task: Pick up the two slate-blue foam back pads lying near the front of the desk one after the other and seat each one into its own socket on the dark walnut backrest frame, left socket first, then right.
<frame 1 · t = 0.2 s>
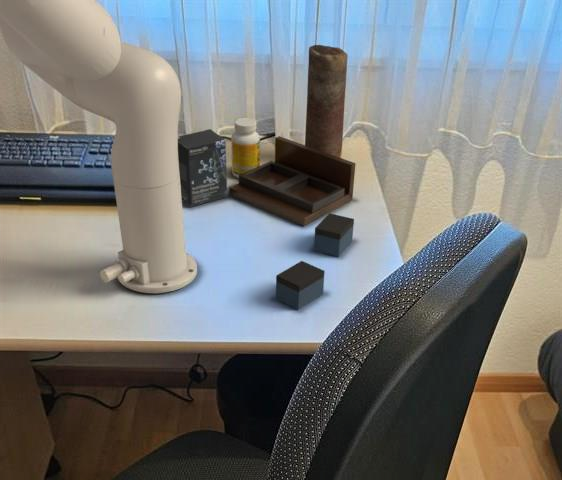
back frame: (290, 197, 138), on the table
pad 2: (333, 246, 126), on the table
supplement bottle: (246, 175, 145), on the table
candle: (322, 162, 150), on the table
box: (202, 198, 138), on the table
pad 1: (299, 296, 115), on the table
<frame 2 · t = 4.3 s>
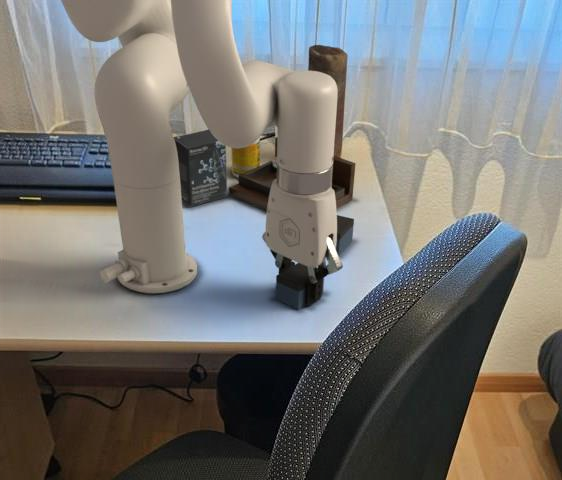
hand: (299, 294, 115), 0 cm above the table, tool pointing down, fingers closed on pad 1, 4 cm apart
pad 1: (299, 296, 115), on the table, touching gripper
everything else where it was.
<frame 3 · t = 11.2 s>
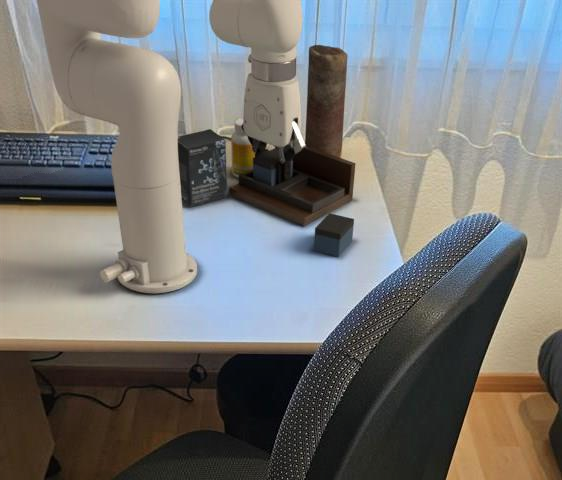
hand: (272, 176, 139), 3 cm above the table, tool pointing down, fingers closed on pad 1, 4 cm apart
pad 1: (272, 178, 139), point 2 cm above the table, touching gripper
everything else where it was.
when the fingers open (3 cm above the table, at t = 14.8 s): pad 1 stays where it is, resting on back frame.
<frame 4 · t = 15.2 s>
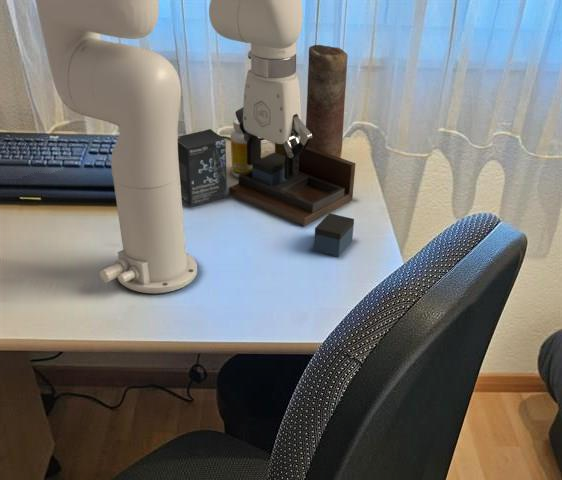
hand: (272, 169, 138), 4 cm above the table, tool pointing down, fingers open, 8 cm apart
supplement bottle: (246, 174, 145), on the table, touching gripper
pad 1: (272, 182, 139), point 1 cm above the table, touching back frame
everything else where it was.
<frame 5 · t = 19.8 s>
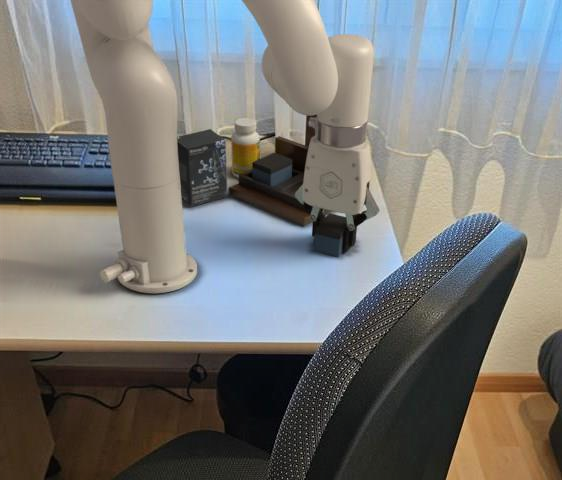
hand: (333, 244, 126), 0 cm above the table, tool pointing down, fingers closed on pad 2, 4 cm apart
pad 2: (333, 246, 126), on the table, touching gripper
supplement bottle: (246, 175, 145), on the table
everything else where it was.
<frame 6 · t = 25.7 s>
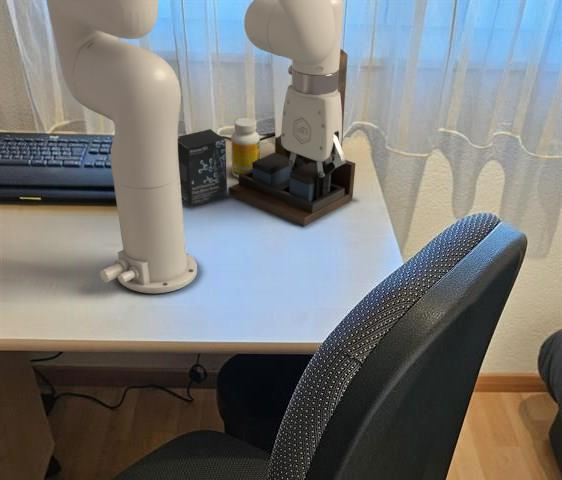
hand: (309, 191, 134), 3 cm above the table, tool pointing down, fingers closed on pad 2, 4 cm apart
pad 2: (309, 193, 135), point 2 cm above the table, touching gripper
everything else where it was.
when the fingers open (3 cm above the table, at t = 29.3 s): pad 2 drops 1 cm, resting on back frame.
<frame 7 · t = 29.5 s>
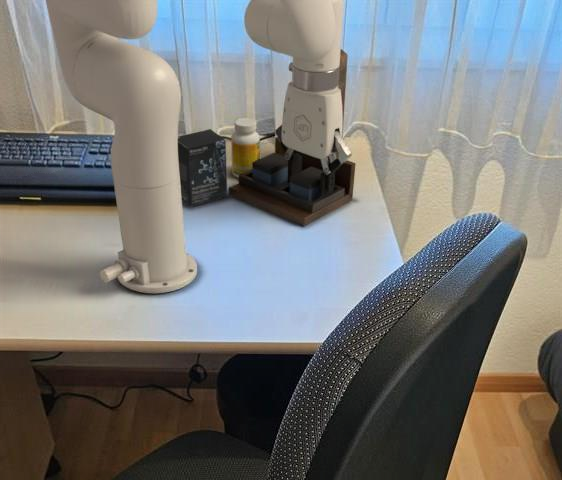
hand: (310, 186, 134), 3 cm above the table, tool pointing down, fingers open, 6 cm apart
pad 2: (309, 197, 135), point 1 cm above the table, touching back frame
everything else where it was.
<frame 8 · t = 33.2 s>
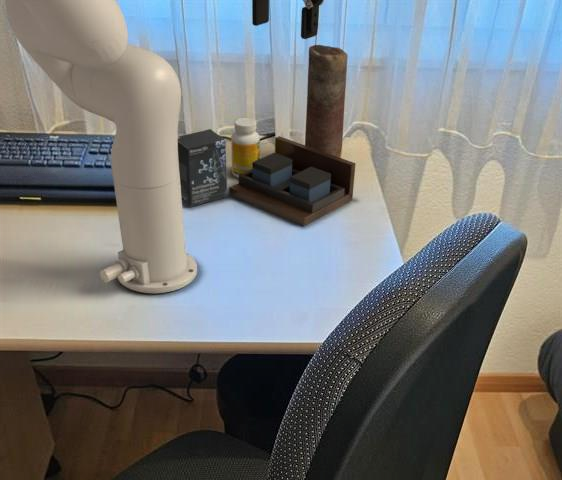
hand: (284, 30, 114), 28 cm above the table, tool pointing down, fingers open, 9 cm apart
nothing on the table moved.
at the end: pad 1 0.0 cm from the target spot on the back frame, point 1.5 cm above the back frame's base; pad 2 0.1 cm from the target spot on the back frame, point 1.5 cm above the back frame's base; pad 2 tilted 0° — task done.
